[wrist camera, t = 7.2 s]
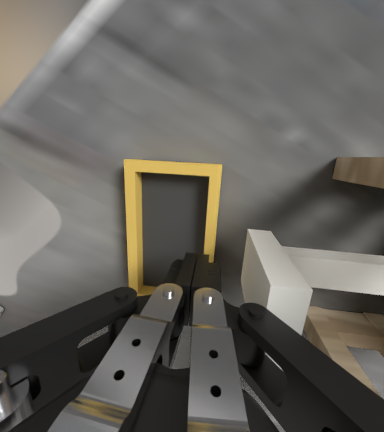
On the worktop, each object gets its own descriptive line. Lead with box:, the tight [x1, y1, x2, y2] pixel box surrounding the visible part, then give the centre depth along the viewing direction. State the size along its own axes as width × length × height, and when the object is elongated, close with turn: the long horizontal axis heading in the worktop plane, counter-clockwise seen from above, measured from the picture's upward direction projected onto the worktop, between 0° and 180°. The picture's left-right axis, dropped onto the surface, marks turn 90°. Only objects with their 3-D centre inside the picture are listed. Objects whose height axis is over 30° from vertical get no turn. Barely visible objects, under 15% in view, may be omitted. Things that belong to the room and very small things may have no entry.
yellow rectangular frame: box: [124, 159, 222, 296], centre depth 17 cm, size 12×7×2 cm, turn 177°
